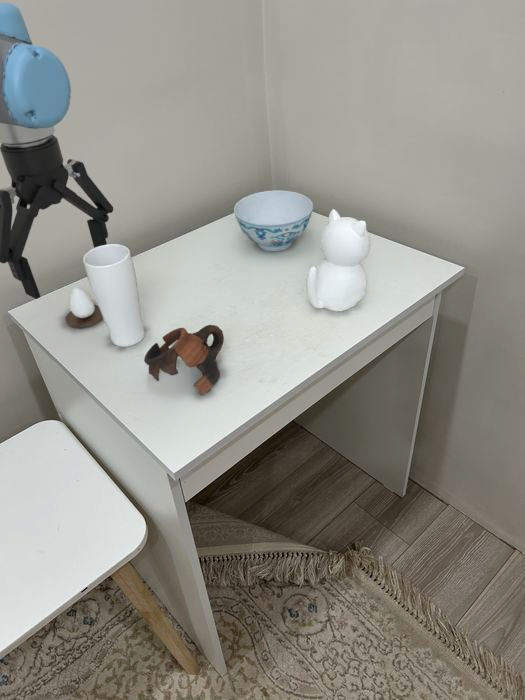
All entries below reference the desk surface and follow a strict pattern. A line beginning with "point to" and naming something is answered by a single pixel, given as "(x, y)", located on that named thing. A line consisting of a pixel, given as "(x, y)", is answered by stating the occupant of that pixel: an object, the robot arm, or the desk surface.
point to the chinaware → (273, 217)
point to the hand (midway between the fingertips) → (70, 276)
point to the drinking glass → (116, 292)
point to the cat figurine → (340, 265)
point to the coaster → (84, 319)
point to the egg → (81, 303)
